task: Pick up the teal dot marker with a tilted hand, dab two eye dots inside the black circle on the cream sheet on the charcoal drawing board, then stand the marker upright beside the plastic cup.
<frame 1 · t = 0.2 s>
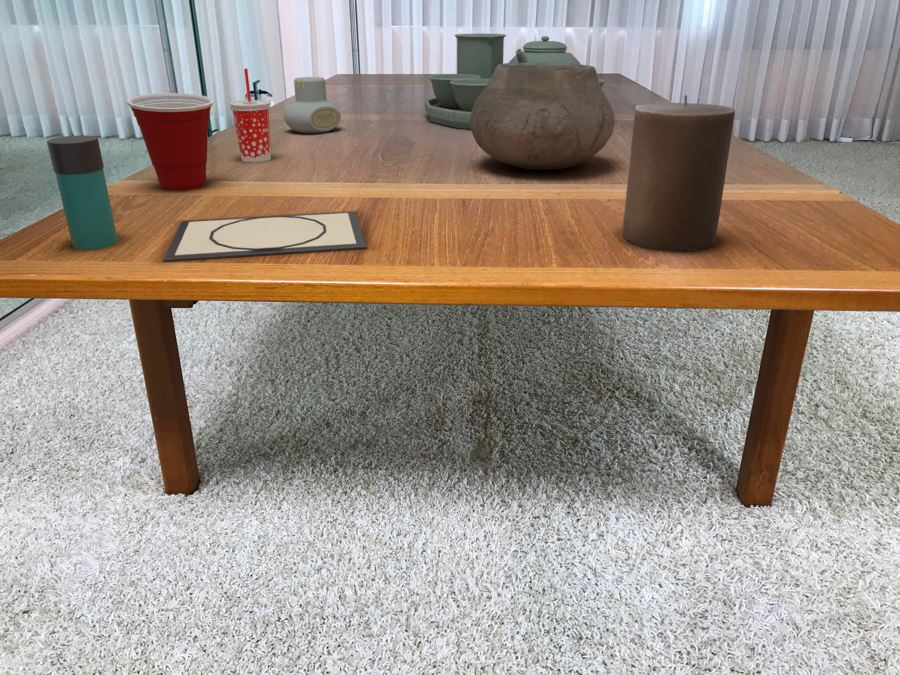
clay pot: (539, 169, 111), on the table
tea set: (517, 119, 156), on the table
beverage cup: (256, 161, 116), on the table
air freshener: (313, 133, 141), on the table
dot marker: (96, 245, 76), on the table
pillar candle: (666, 242, 77), on the table
plastic cup: (185, 189, 99), on the table
drawing board: (269, 237, 79), on the table
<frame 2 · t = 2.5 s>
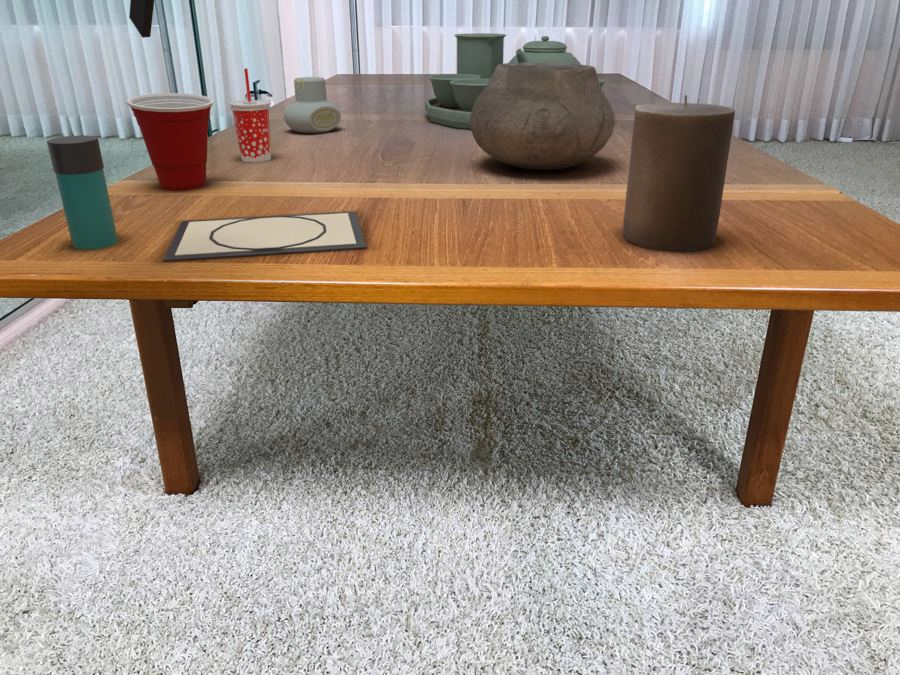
hand: (62, 32, 62), 21 cm above the table, tool tilted 40°, fingers open, 13 cm apart
nothing on the table moved.
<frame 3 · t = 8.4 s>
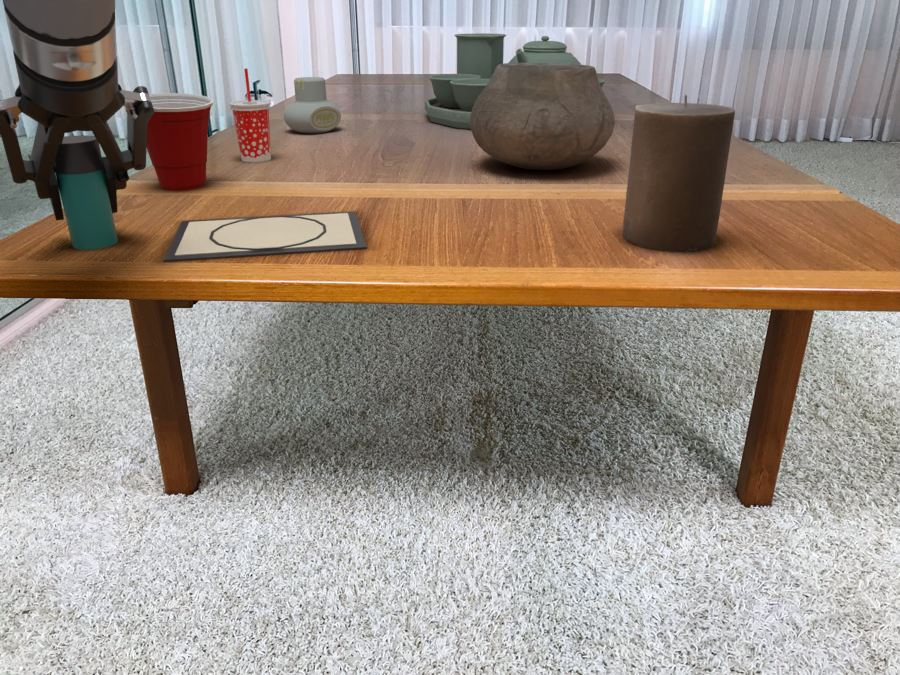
hand: (84, 205, 78), 3 cm above the table, tool tilted 45°, fingers closed on dot marker, 5 cm apart
dot marker: (96, 245, 76), on the table, touching gripper
everything else where it was.
when the fingers open (3 cm above the table, at t = 25.4 s): dot marker stays where it is, on the table.
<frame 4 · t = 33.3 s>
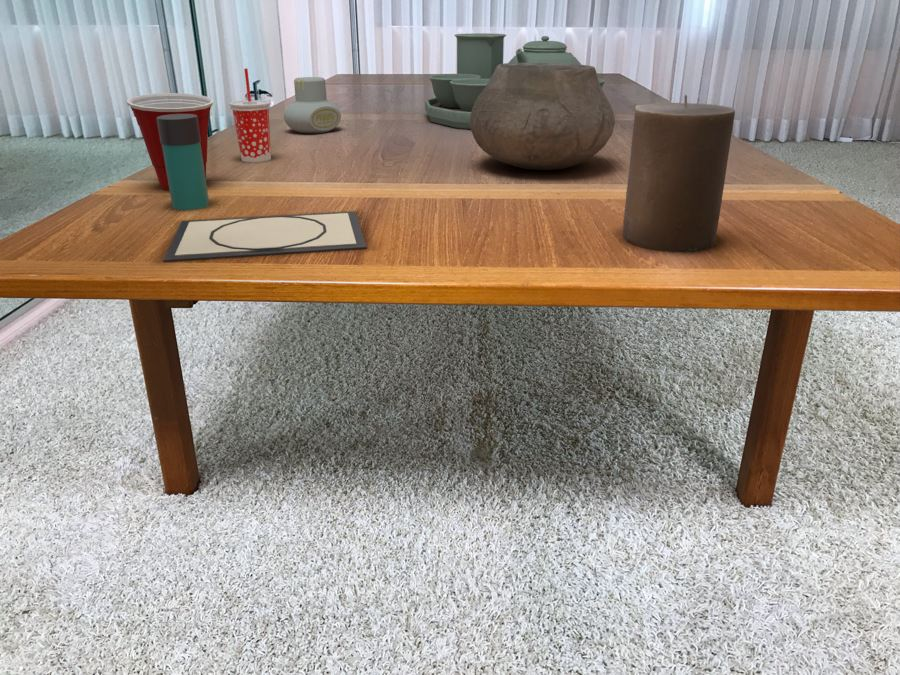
dot marker: (191, 207, 90), on the table
everything else where it was.
at the end: dot marker 11.2 cm from the plastic cup (horizontally); dot marker tilted 0°; dot marker on the table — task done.
